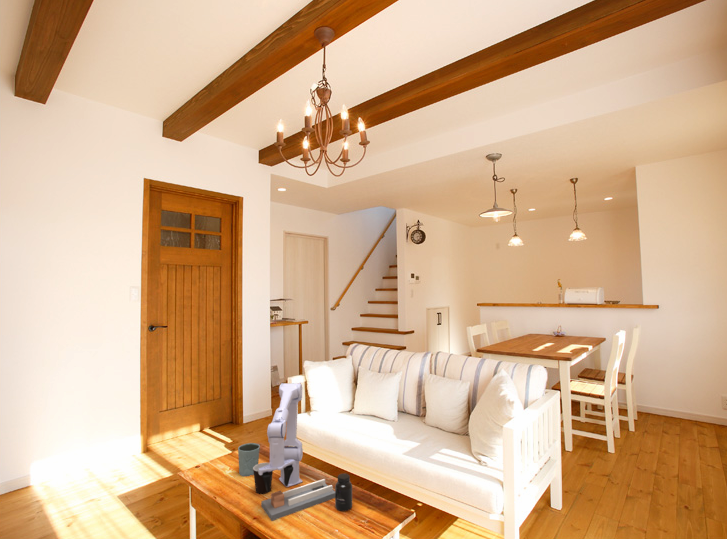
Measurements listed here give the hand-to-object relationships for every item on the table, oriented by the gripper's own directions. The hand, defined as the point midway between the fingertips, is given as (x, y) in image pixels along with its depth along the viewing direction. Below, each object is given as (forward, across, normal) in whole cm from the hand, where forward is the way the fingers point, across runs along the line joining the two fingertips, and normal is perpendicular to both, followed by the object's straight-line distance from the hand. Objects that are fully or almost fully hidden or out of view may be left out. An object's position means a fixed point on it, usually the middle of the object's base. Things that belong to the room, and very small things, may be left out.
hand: (277, 488), depth 150 cm
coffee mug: (+8, +2, +19) cm, 21 cm away
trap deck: (+8, +10, 0) cm, 13 cm away
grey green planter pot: (+8, 0, +39) cm, 40 cm away
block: (+6, 0, 0) cm, 6 cm away
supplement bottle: (+8, +22, -14) cm, 28 cm away
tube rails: (+6, +13, 0) cm, 15 cm away
